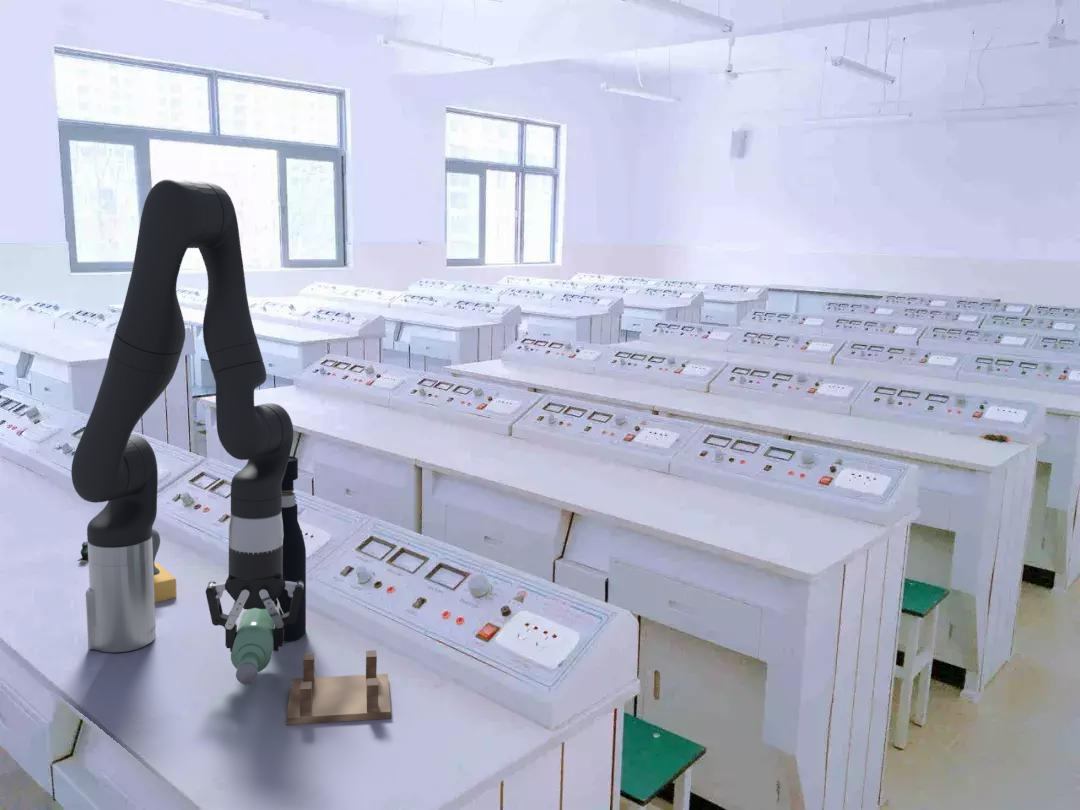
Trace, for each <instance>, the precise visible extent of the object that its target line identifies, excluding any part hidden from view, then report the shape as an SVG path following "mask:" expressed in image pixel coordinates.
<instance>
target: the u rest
mask: <svg viewBox="0 0 1080 810" xmlns="http://www.w3.org/2000/svg"><path fill="white" fill-rule="evenodd" d="M377 653H378V652H377V649H376V650H366V651H365V674H358V675H357V674H355V675H353V674H352V675H338V676H337V675H335V676H319V677H318V676H317V677H316V676H315V653H314V652H312V653H311V652H310V653H303V657H302V659H303V660H302V678H301V677H299V678H291V683H290V688H289V696H288V705H287V711H286V718H285V719H286V721H285V722H286V725H290V726H291V725H303V724H304V725H305V724H321V723H334V722H336V723H337V722H350V721H351V722H352V721H367V720H383V719H384V720H385V719H391V718H392V717H391V716H392V715H391V714H392V713H391V711H392V710H391V699H390V687H389V685H390V684H389V673H377V670H378V669H377V667H378V666H377V665H378V664H377V662H378V661H377V660H378V659H377V658H378V655H377Z"/></svg>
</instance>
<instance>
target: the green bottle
mask: <svg viewBox="0 0 1080 810" xmlns="http://www.w3.org/2000/svg"><path fill="white" fill-rule="evenodd" d="M273 635H274V622H273V620H272V617H271V616H270V615H269V613H268V611H267V609H258V608H252V609H245V610H244V612H243V613H242V614H241V616H240V620H239V624H238V626H237V634H236V638H235V641H234V645H233V648H232V652H230V660H231V664H232V666H234V668H235V669H236V672H235V678H236V680H237V682H239V683H240V684H243V685H250V684H252V683H253V682H255V681H256V680H257V678H258V675H259V674H258V673H259V672H262V671H264V670H265V669H266V668H267V667H268V666H269V664H270V662H271V660H272V655H273V654H272V653H273V644H274V639H273Z"/></svg>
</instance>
